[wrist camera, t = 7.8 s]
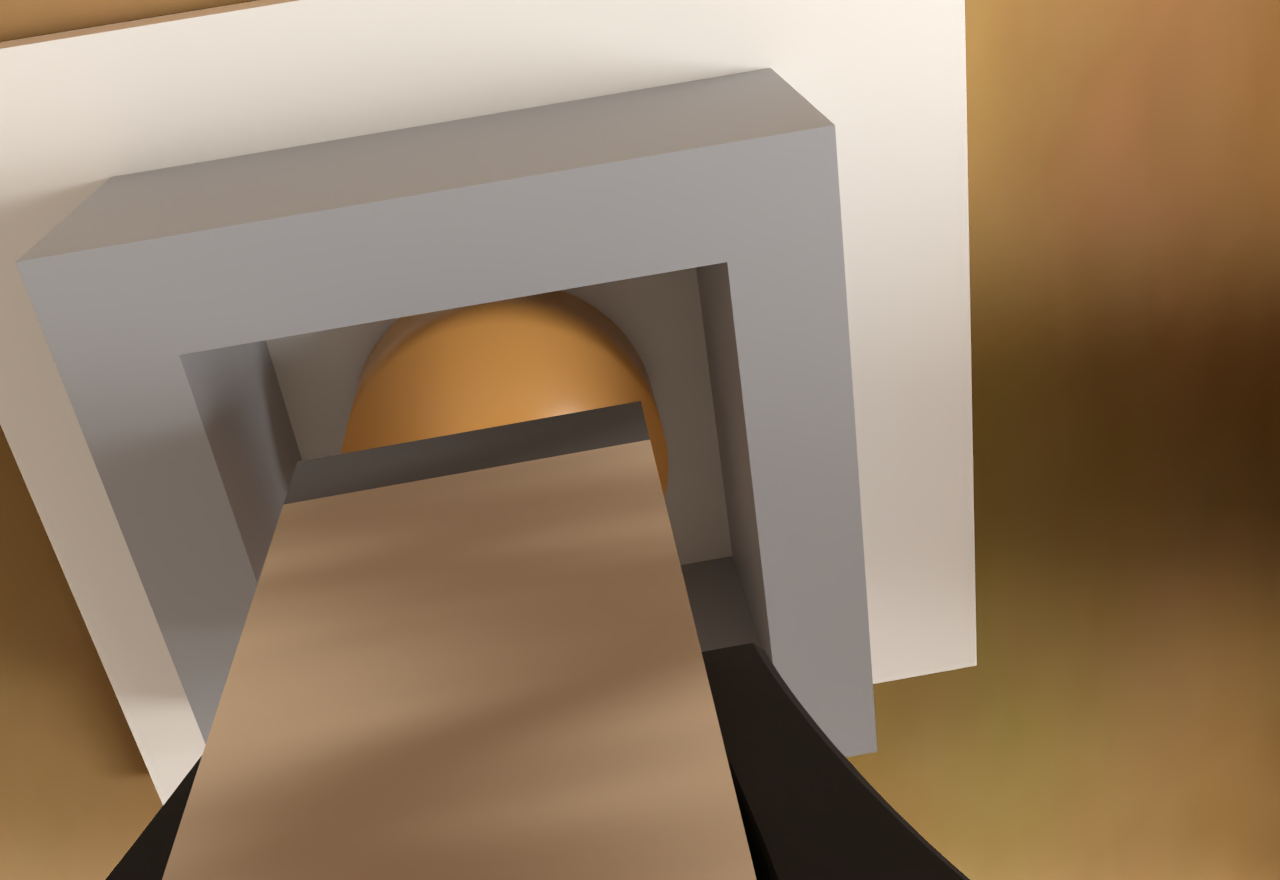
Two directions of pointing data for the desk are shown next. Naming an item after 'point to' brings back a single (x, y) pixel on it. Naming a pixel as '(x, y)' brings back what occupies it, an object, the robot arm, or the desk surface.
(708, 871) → the brown wooden block
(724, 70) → the socket base plate
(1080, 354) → the desk surface
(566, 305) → the button
